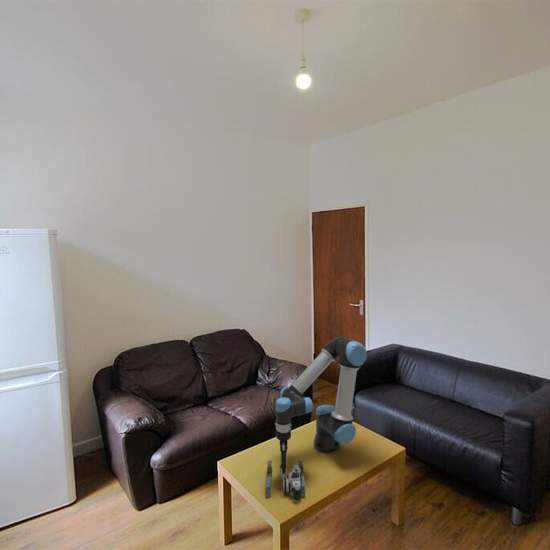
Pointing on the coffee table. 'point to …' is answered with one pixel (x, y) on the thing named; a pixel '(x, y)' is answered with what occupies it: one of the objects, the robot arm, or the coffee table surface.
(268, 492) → the rail
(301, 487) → the rail
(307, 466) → the coffee table surface
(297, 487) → the camera
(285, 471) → the robot arm
